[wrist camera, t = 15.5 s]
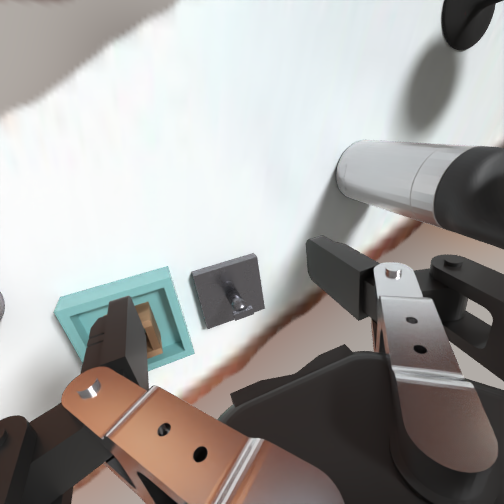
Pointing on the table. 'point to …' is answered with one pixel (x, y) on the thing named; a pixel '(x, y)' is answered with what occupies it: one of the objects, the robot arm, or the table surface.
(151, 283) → the tray
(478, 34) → the wine glass
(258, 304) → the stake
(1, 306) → the pillar candle
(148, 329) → the walnut collar
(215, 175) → the table surface
